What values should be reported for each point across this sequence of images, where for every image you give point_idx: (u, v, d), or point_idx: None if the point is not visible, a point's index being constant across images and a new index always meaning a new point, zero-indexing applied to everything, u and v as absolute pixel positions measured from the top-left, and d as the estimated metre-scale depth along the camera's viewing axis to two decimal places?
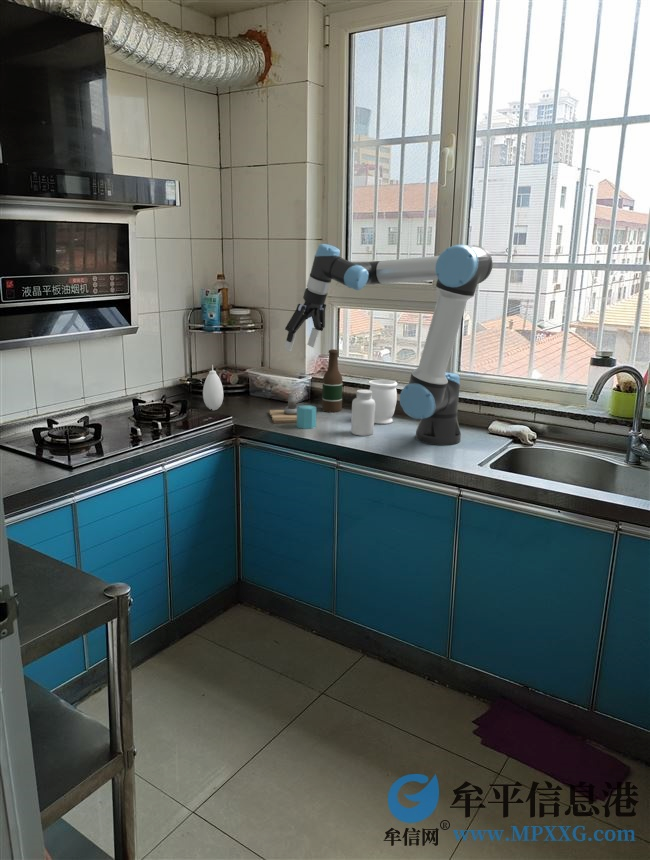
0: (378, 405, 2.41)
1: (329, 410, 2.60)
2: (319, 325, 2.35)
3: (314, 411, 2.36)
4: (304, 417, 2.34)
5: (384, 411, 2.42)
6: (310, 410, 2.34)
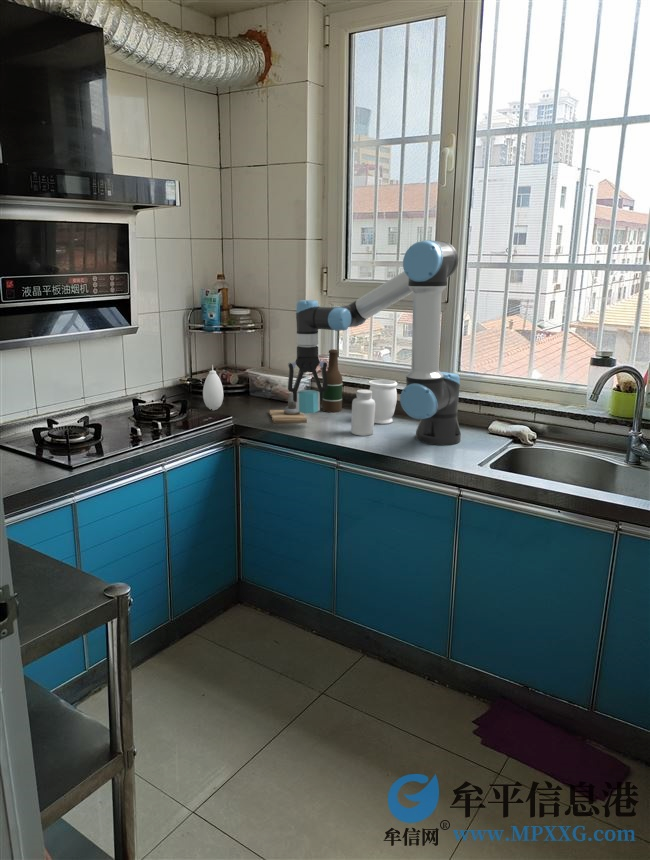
0: (378, 405, 2.41)
1: (329, 410, 2.60)
2: (319, 385, 2.34)
3: (315, 395, 2.34)
4: (305, 401, 2.33)
5: (384, 411, 2.42)
6: (311, 394, 2.32)
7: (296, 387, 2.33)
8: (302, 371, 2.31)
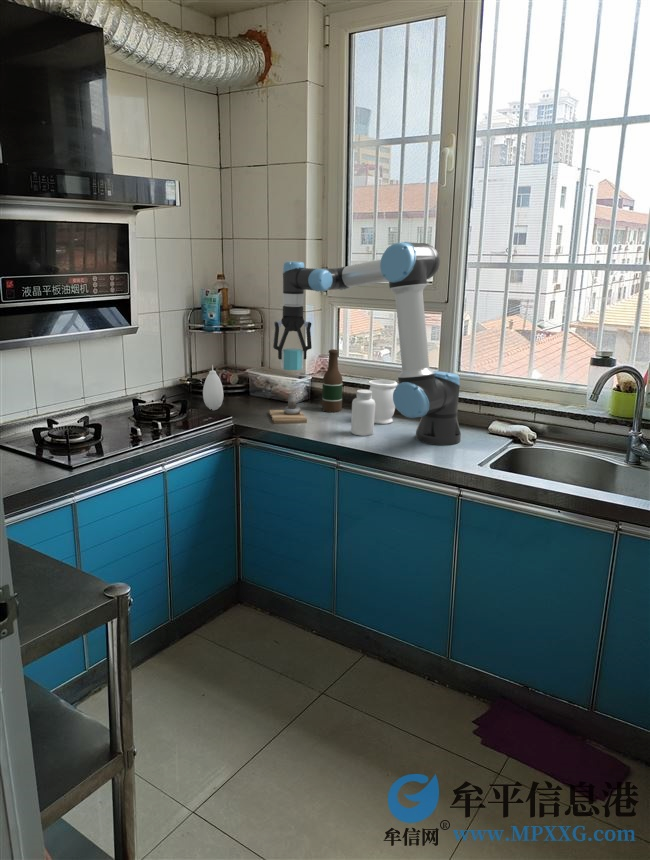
0: (378, 405, 2.41)
1: (329, 410, 2.60)
2: (303, 344, 2.45)
3: (299, 353, 2.45)
4: (290, 359, 2.43)
5: (384, 411, 2.42)
6: (295, 352, 2.43)
7: (281, 345, 2.43)
8: (287, 330, 2.42)
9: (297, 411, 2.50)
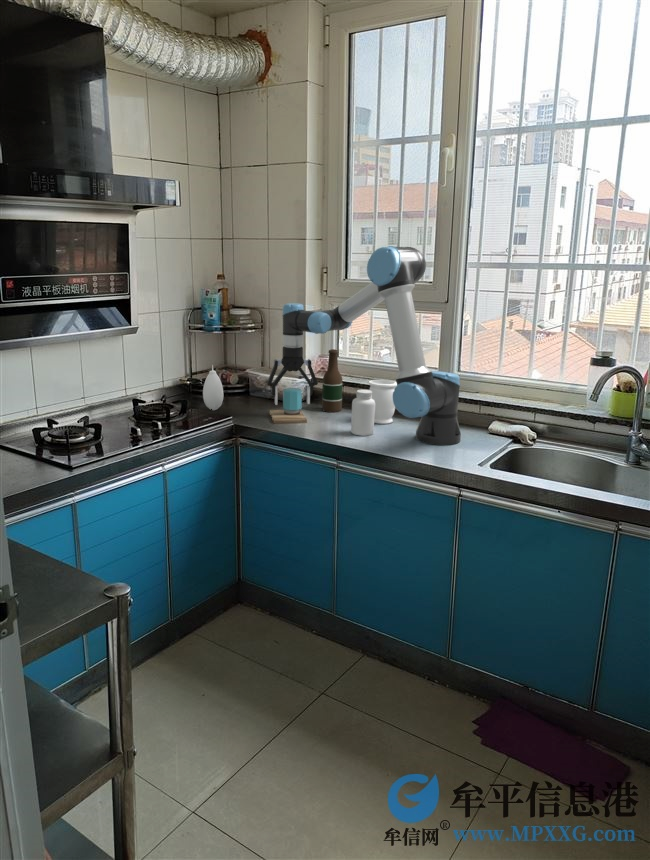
0: (378, 405, 2.41)
1: (329, 410, 2.60)
2: (308, 381, 2.49)
3: (299, 393, 2.48)
4: (290, 399, 2.47)
5: (384, 411, 2.42)
6: (295, 392, 2.47)
7: (276, 382, 2.47)
8: (285, 369, 2.45)
9: (297, 411, 2.50)
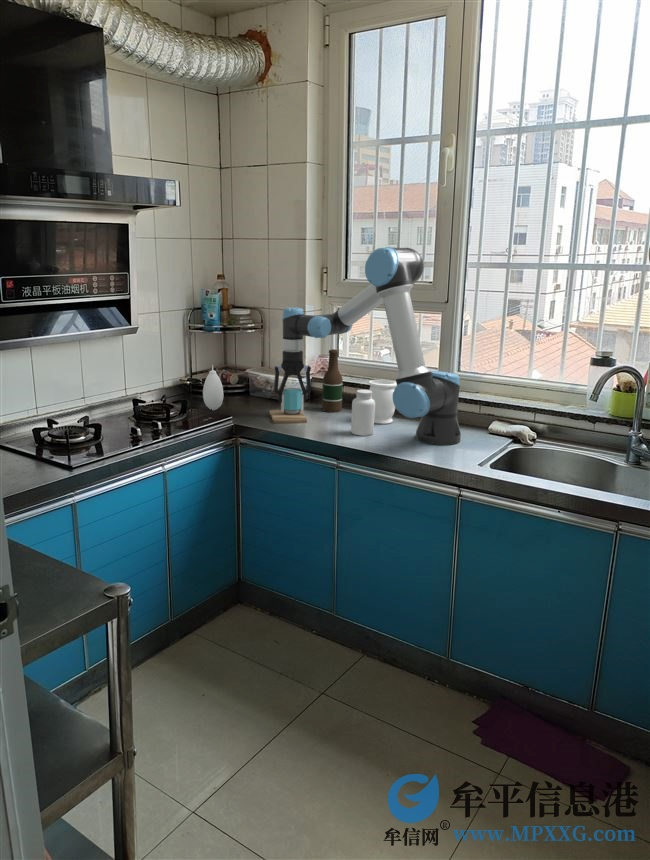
0: (378, 405, 2.41)
1: (329, 410, 2.60)
2: (303, 388, 2.49)
3: (299, 393, 2.48)
4: (290, 399, 2.47)
5: (384, 411, 2.42)
6: (295, 392, 2.47)
7: (281, 389, 2.48)
8: (287, 374, 2.46)
9: (297, 411, 2.50)
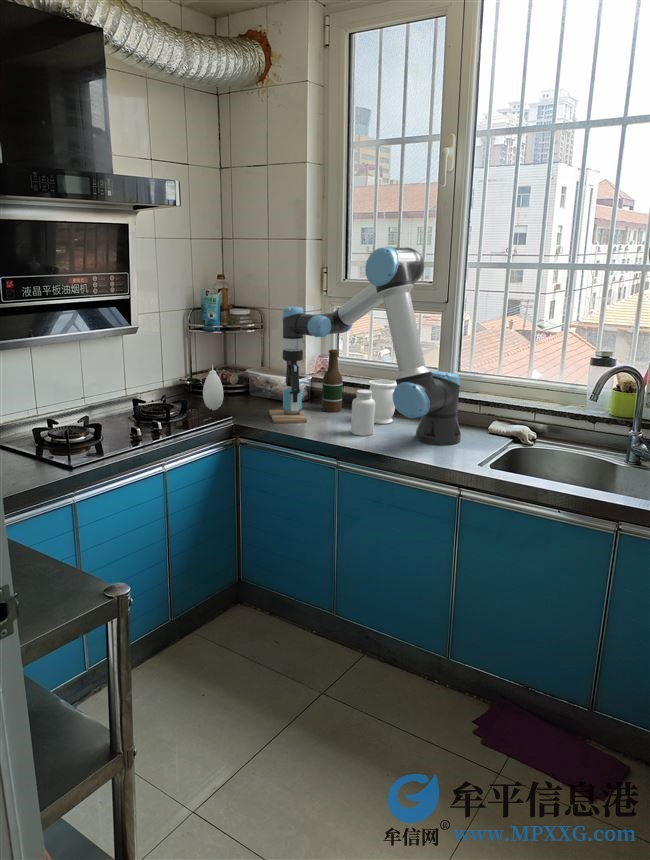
0: (378, 405, 2.41)
1: (329, 410, 2.60)
2: (291, 387, 2.43)
3: (287, 394, 2.47)
4: (283, 396, 2.51)
5: (384, 411, 2.42)
6: (284, 391, 2.48)
7: (286, 381, 2.55)
8: (286, 370, 2.50)
9: (297, 411, 2.50)
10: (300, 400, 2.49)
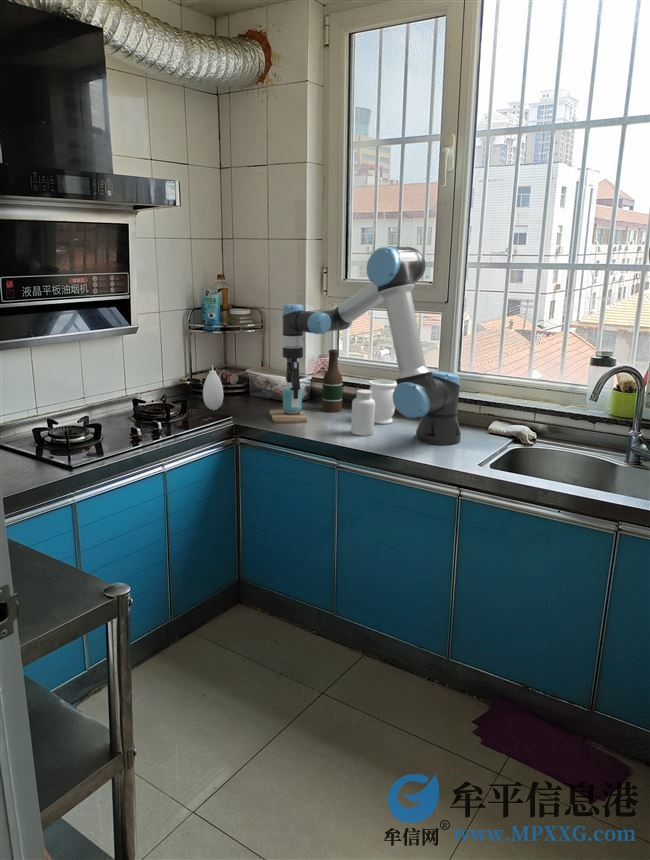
0: (378, 405, 2.41)
1: (329, 410, 2.60)
2: (292, 384, 2.42)
3: None
4: None
5: (384, 411, 2.42)
6: None
7: (287, 377, 2.55)
8: (287, 367, 2.50)
9: (297, 411, 2.50)
10: (288, 401, 2.48)
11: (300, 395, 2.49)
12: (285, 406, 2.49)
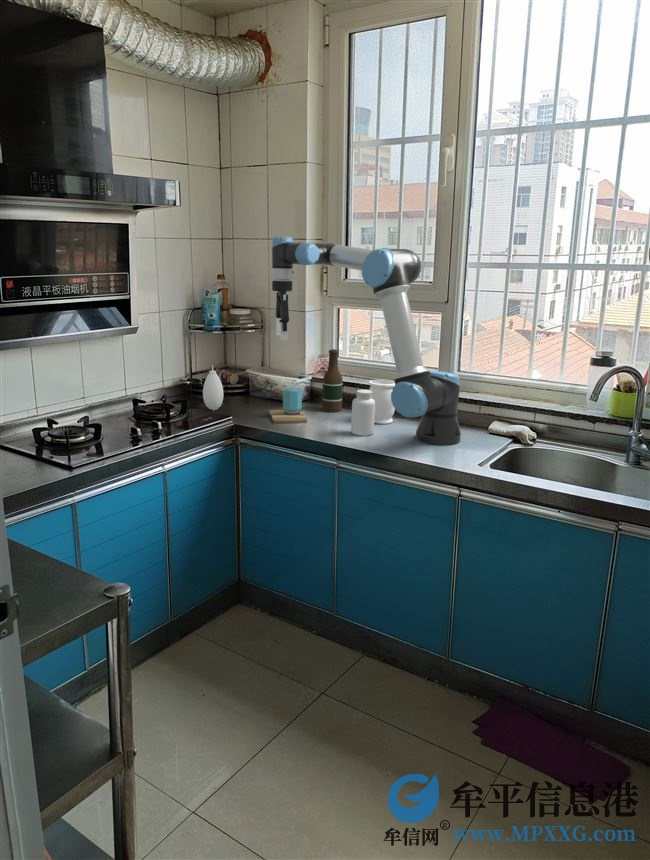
0: (378, 405, 2.41)
1: (329, 410, 2.60)
2: (281, 316, 2.43)
3: None
4: None
5: (384, 411, 2.42)
6: None
7: (276, 313, 2.56)
8: (276, 302, 2.51)
9: (297, 411, 2.50)
10: (288, 401, 2.48)
11: (300, 395, 2.49)
12: (285, 406, 2.49)
